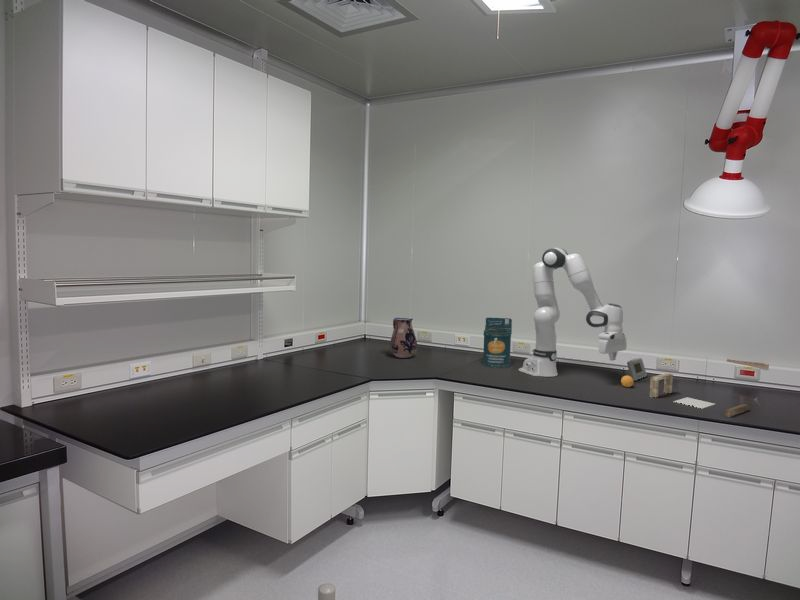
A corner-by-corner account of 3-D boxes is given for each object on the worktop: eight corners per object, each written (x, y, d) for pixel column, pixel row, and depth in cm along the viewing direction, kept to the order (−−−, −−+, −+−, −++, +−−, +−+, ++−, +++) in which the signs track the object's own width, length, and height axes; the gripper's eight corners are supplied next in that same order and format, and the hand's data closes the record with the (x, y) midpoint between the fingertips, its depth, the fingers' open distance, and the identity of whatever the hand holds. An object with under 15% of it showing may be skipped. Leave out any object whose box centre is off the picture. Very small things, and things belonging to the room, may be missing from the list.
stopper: (724, 416, 227) (724, 410, 227) (742, 409, 238) (743, 403, 237) (729, 417, 226) (729, 411, 225) (747, 410, 236) (748, 404, 236)
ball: (618, 386, 275) (618, 375, 274) (624, 384, 278) (625, 373, 278) (629, 389, 270) (629, 377, 269) (635, 387, 273) (636, 376, 273)
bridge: (649, 396, 256) (650, 377, 255) (665, 392, 265) (667, 373, 264) (655, 398, 254) (656, 378, 253) (671, 393, 262) (673, 374, 261)
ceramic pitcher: (402, 360, 330) (402, 321, 328) (381, 355, 346) (381, 317, 344) (422, 357, 342) (423, 319, 340) (401, 352, 358) (401, 315, 355)
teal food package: (510, 363, 328) (512, 318, 326) (509, 368, 313) (510, 322, 310) (484, 361, 332) (485, 317, 330) (481, 366, 317) (483, 320, 314)
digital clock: (634, 382, 285) (635, 362, 284) (619, 378, 293) (620, 359, 292) (652, 378, 294) (653, 359, 293) (637, 375, 301) (638, 356, 300)
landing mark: (673, 401, 248) (673, 401, 248) (687, 397, 255) (687, 397, 255) (701, 408, 237) (701, 408, 237) (715, 404, 245) (715, 403, 245)
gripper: (619, 331, 288) (618, 356, 289) (596, 335, 276) (595, 361, 277) (630, 333, 282) (629, 358, 284) (607, 336, 271) (606, 363, 272)
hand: (612, 360), depth 280 cm, fingers closed
